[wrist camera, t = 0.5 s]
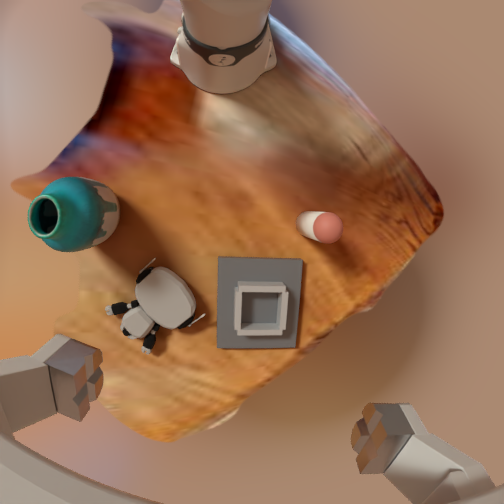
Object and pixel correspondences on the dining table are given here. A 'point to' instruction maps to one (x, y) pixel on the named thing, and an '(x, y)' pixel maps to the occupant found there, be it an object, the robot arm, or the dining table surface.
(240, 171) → the dining table surface
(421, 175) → the dining table surface
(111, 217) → the vase
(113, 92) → the dining table surface
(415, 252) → the dining table surface
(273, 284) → the jig
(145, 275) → the robot toy
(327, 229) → the pink-topped post
